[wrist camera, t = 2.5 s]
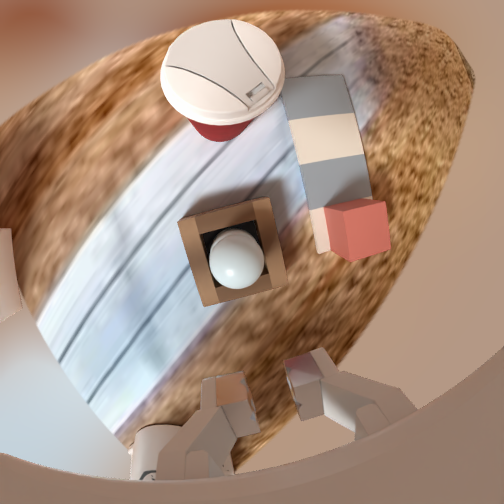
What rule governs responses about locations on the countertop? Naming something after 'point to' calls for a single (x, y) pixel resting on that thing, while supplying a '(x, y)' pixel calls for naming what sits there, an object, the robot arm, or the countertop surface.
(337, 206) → the red block
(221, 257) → the dome
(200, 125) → the paper cup
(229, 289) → the button box
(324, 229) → the track
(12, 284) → the milk
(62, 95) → the countertop surface
